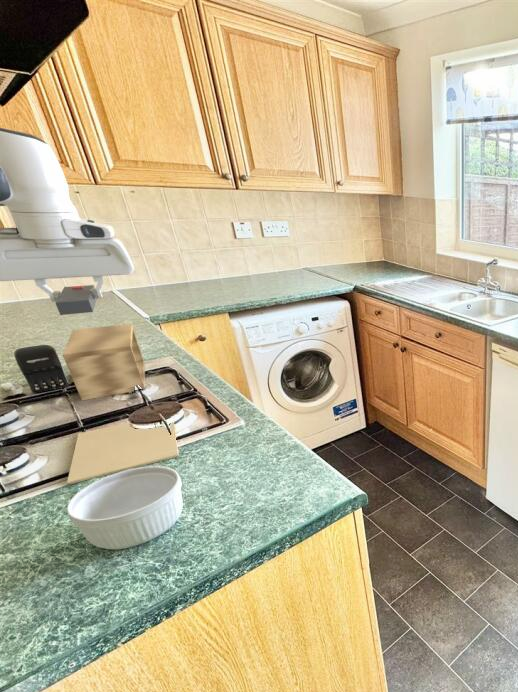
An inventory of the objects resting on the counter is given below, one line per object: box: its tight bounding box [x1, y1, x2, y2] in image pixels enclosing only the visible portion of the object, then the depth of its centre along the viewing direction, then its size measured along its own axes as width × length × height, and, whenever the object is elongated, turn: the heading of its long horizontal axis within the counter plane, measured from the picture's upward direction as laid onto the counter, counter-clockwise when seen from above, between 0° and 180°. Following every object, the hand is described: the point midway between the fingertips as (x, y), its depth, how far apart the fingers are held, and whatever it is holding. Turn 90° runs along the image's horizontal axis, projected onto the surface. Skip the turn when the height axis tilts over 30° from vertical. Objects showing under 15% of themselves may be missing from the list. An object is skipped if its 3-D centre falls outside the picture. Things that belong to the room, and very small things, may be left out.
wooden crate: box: [62, 323, 146, 401], centre depth 110 cm, size 12×21×12 cm, turn 38°
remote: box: [55, 284, 97, 316], centre depth 85 cm, size 5×15×3 cm, turn 39°
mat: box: [66, 421, 180, 485], centre depth 86 cm, size 16×20×1 cm
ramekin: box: [66, 465, 184, 550], centre depth 66 cm, size 13×13×7 cm
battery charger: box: [13, 343, 70, 394], centre depth 103 cm, size 7×4×11 cm, turn 137°
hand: (78, 299), depth 85 cm, fingers closed on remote, 4 cm apart
